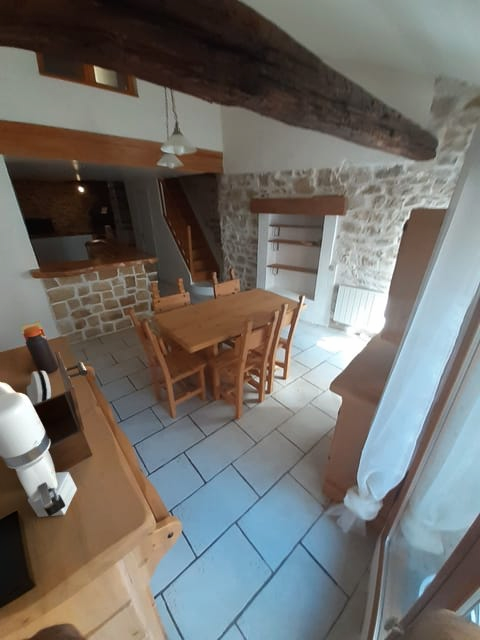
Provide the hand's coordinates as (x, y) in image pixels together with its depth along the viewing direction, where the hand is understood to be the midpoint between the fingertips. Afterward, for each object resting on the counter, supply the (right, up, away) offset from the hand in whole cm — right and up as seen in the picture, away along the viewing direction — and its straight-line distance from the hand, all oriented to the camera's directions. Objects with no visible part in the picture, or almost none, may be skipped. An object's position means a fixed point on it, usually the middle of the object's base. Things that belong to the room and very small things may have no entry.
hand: (53, 494), depth 60 cm
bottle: (-37, +20, +47) cm, 63 cm away
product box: (0, -3, +2) cm, 4 cm away
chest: (-10, +4, +16) cm, 19 cm away
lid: (-5, +22, +12) cm, 25 cm away
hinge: (-29, +13, +33) cm, 46 cm away
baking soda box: (-45, +25, +55) cm, 76 cm away
